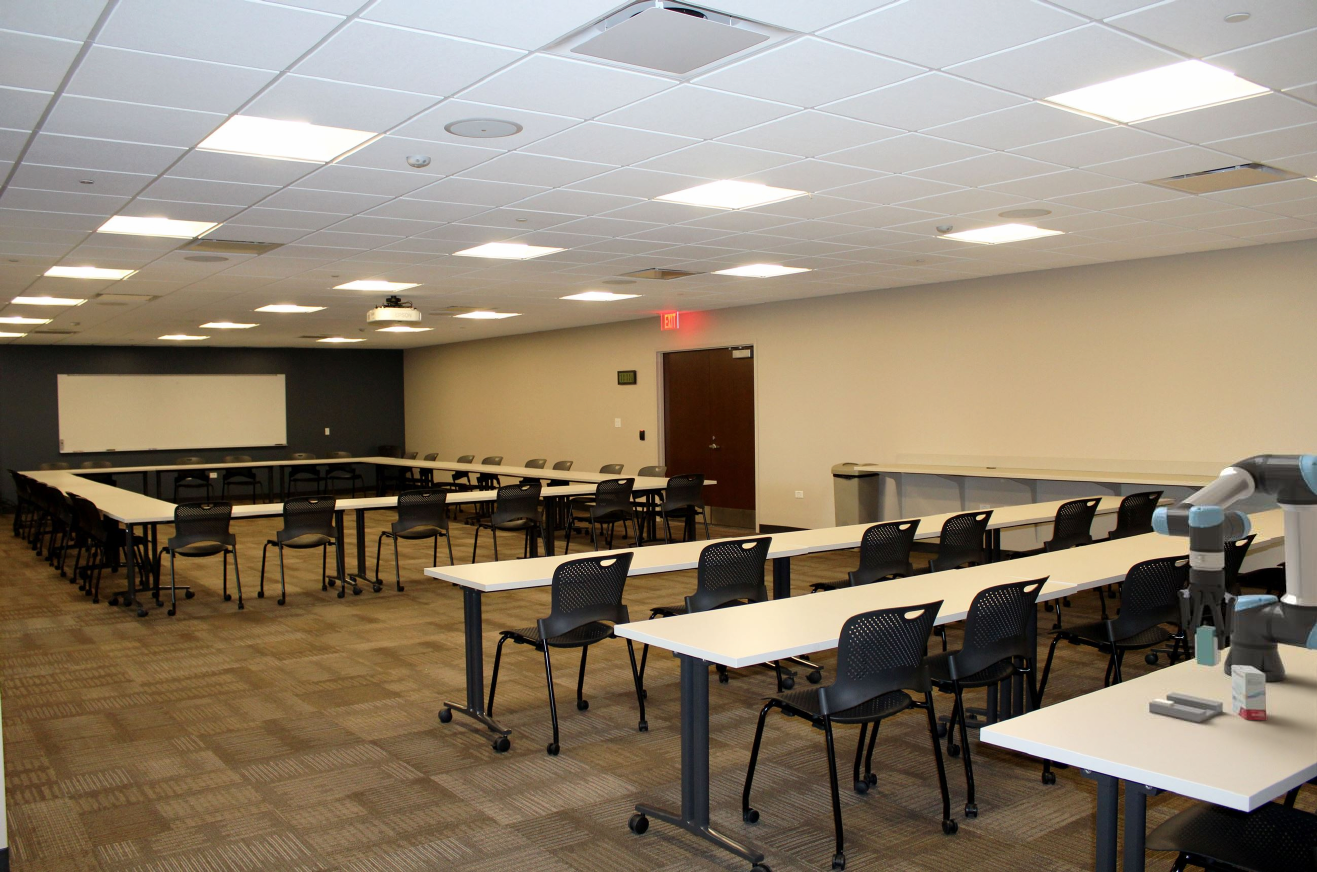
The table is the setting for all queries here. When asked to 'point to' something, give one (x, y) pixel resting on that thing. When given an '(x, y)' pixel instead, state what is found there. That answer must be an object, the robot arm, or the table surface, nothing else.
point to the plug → (1205, 645)
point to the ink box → (1248, 692)
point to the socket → (1186, 707)
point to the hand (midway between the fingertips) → (1208, 660)
